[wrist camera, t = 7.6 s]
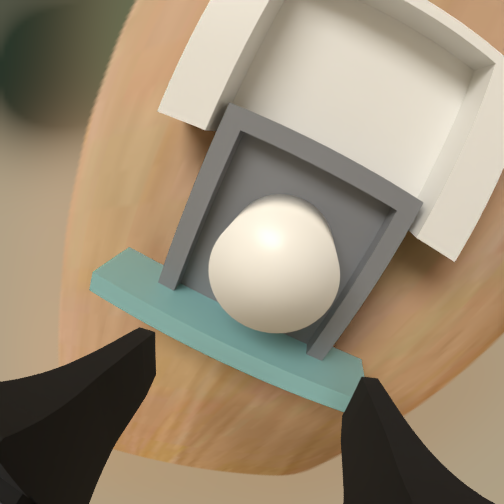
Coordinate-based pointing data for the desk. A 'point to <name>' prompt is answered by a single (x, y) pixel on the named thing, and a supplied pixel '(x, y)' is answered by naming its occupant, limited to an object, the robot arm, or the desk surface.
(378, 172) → the dock
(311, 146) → the tray
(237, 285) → the white dome-topped cylinder
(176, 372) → the desk surface
